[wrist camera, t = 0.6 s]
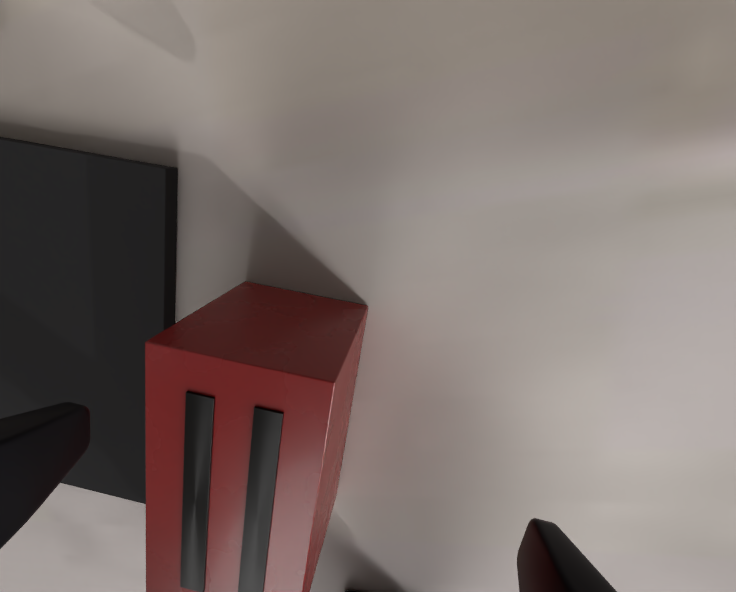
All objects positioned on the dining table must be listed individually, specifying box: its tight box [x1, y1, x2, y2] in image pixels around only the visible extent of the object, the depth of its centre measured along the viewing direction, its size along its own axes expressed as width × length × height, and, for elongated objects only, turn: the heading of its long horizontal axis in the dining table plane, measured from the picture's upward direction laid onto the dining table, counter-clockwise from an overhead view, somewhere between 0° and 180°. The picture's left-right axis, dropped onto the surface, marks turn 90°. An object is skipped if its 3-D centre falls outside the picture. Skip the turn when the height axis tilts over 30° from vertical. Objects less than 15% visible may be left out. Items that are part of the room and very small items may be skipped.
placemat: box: [0, 137, 177, 504], centre depth 23 cm, size 20×15×1 cm
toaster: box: [145, 281, 368, 592], centre depth 19 cm, size 13×6×8 cm, turn 171°
